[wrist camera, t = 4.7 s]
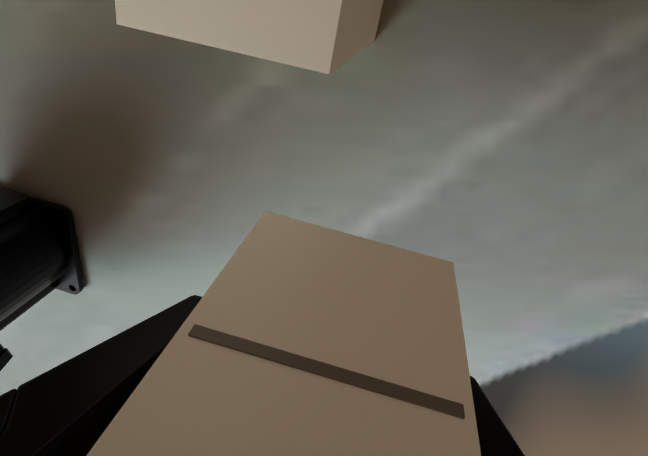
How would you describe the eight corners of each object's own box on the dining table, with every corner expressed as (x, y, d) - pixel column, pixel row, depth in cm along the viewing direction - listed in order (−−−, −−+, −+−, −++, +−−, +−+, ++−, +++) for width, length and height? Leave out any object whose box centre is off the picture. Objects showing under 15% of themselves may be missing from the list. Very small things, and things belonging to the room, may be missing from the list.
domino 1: (427, 321, 11) (451, 998, 4) (256, 272, 12) (-53, 791, 4) (453, 260, 10) (568, 1031, 3) (265, 209, 11) (-132, 747, 3)
